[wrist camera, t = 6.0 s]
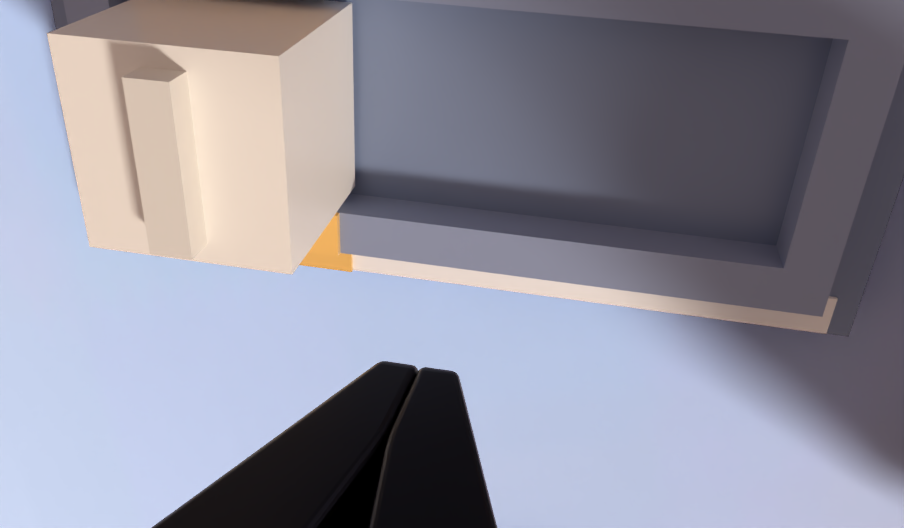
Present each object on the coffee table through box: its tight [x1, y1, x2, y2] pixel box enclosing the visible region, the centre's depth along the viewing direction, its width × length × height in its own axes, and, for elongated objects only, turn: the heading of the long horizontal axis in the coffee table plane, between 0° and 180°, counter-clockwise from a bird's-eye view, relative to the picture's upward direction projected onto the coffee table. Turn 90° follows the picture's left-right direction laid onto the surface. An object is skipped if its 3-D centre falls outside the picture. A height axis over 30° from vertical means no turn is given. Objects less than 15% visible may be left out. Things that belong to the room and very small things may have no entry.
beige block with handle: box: [47, 0, 355, 274], centre depth 16 cm, size 4×4×5 cm
